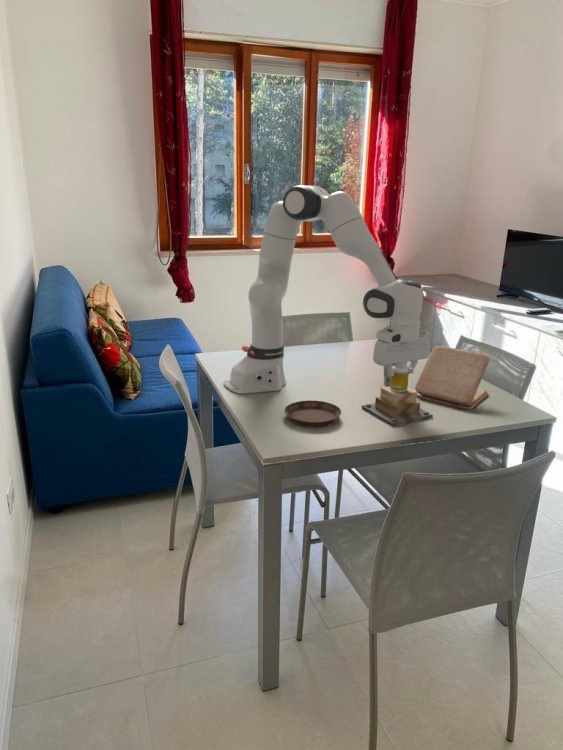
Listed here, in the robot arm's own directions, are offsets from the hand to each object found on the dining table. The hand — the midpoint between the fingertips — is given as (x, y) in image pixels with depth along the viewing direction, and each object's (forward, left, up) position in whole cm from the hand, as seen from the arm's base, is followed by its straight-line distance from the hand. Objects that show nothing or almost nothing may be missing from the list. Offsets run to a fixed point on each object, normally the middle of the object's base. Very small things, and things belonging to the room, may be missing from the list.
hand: (400, 374), depth 185 cm
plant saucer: (-27, +8, -14) cm, 31 cm away
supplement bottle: (0, 0, -5) cm, 5 cm away
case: (+28, +4, -14) cm, 31 cm away
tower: (0, 0, -13) cm, 13 cm away
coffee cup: (+16, +23, -13) cm, 31 cm away
